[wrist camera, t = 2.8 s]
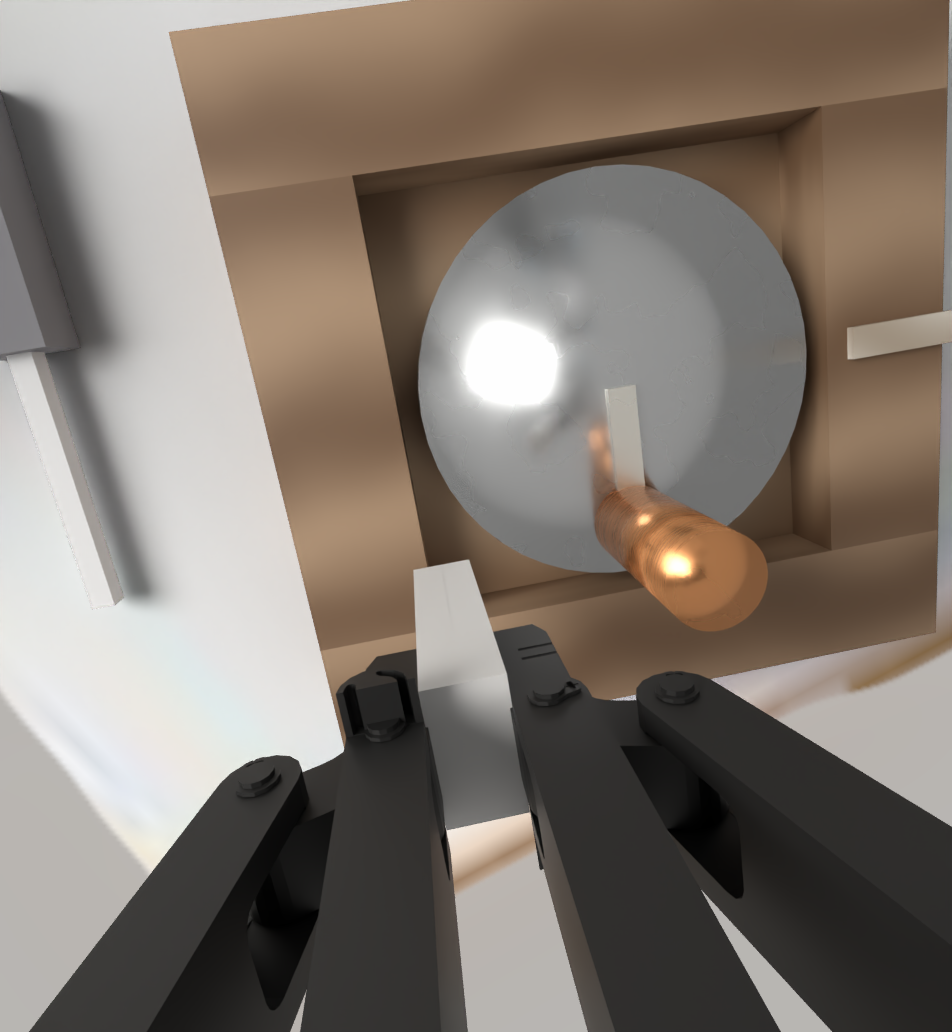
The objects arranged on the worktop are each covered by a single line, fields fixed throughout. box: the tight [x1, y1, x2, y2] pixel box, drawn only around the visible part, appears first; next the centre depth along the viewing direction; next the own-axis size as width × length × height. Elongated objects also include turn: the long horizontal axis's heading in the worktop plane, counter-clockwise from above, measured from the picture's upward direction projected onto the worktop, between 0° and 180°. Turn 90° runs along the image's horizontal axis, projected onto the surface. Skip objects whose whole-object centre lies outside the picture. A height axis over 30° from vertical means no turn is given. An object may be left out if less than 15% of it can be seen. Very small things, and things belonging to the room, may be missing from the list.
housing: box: [169, 0, 952, 748], centre depth 22 cm, size 22×22×5 cm
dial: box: [417, 164, 806, 631], centre depth 18 cm, size 13×13×8 cm
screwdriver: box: [0, 91, 124, 610], centre depth 21 cm, size 17×3×2 cm, turn 10°
